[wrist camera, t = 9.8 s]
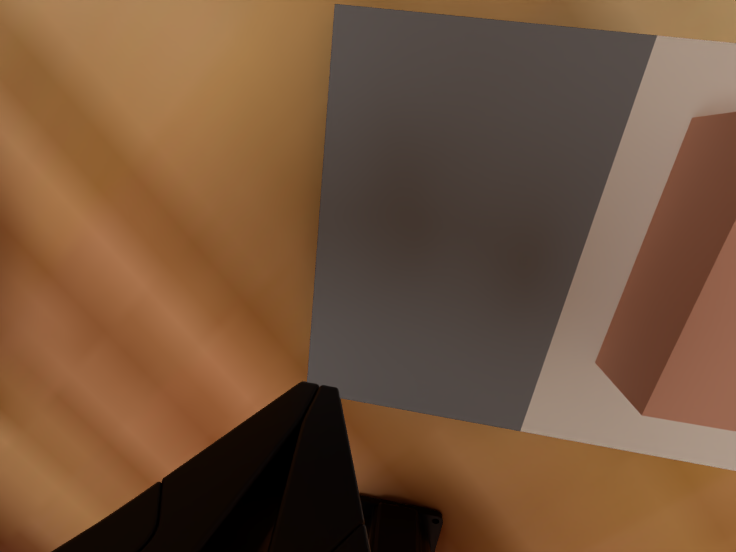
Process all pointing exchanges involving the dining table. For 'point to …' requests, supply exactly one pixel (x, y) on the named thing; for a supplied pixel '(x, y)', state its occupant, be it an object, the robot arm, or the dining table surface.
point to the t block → (684, 291)
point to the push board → (499, 217)
